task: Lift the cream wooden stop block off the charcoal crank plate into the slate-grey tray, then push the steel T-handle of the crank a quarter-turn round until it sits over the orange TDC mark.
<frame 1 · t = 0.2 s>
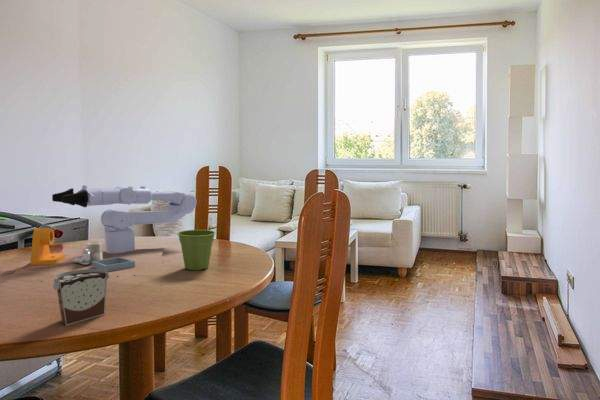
hand: (57, 198, 169), 21 cm above the table, tool horizontal, fingers open, 7 cm apart
plant pot: (197, 268, 164), on the table
food container: (77, 318, 116), on the table
bracket: (49, 265, 169), on the table
crank: (81, 255, 164), point 4 cm above the table, hinge at 90.0°
crank plate: (91, 266, 166), on the table
tray: (113, 270, 160), on the table
stop block: (94, 261, 167), point 1 cm above the table, touching crank plate
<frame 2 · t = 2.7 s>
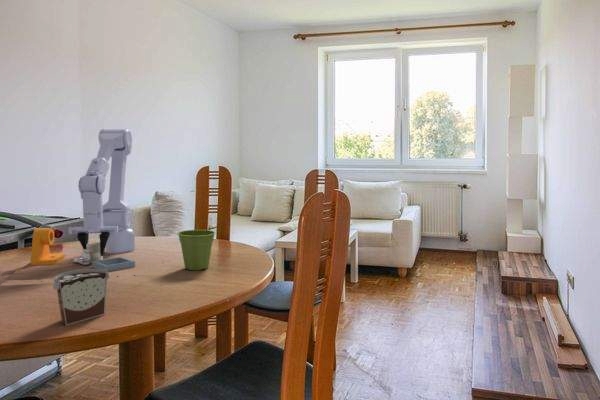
hand: (94, 255, 167), 3 cm above the table, tool pointing down, fingers closed on stop block, 4 cm apart
stop block: (94, 261, 167), point 1 cm above the table, touching crank plate, gripper
everything else where it was.
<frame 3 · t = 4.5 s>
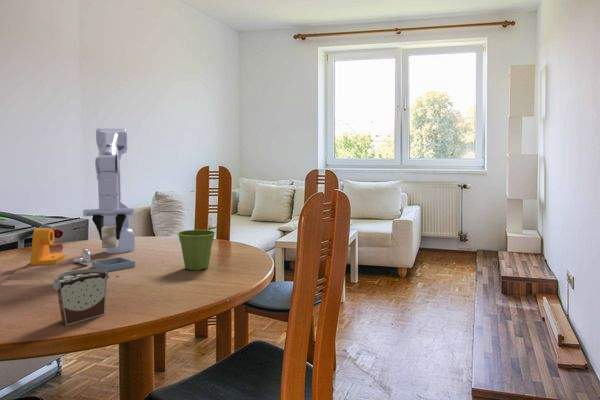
hand: (110, 239, 160), 10 cm above the table, tool pointing down, fingers closed on stop block, 4 cm apart
stop block: (110, 246, 160), point 7 cm above the table, touching gripper
everything else where it was.
when the fingers open (4 cm above the table, at t = 6.0 s): stop block drops 1 cm, resting on tray.
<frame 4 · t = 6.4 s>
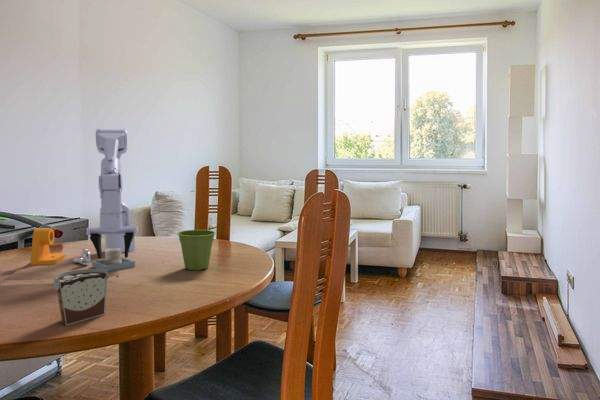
hand: (113, 257, 160), 4 cm above the table, tool pointing down, fingers open, 7 cm apart
stop block: (113, 269, 160), point 1 cm above the table, touching tray
everything else where it was.
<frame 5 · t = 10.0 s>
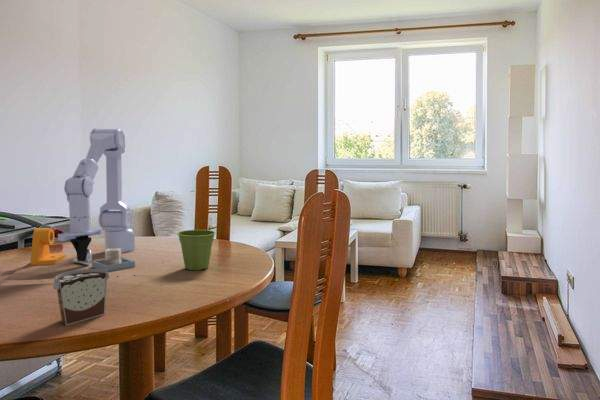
hand: (81, 260, 161), 3 cm above the table, tool pointing down, fingers closed, pressing on crank
crank: (82, 255, 164), point 4 cm above the table, hinge at 94.7°, touching gripper
everything else where it was.
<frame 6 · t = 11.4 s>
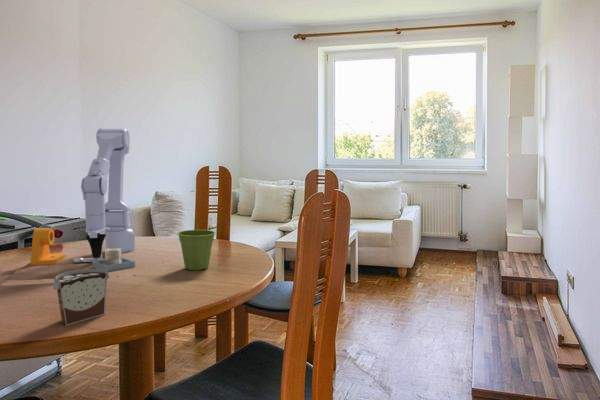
hand: (96, 257, 165), 3 cm above the table, tool pointing down, fingers closed, pressing on crank
crank: (87, 253, 166), point 4 cm above the table, hinge at 143.9°, touching gripper
everything else where it was.
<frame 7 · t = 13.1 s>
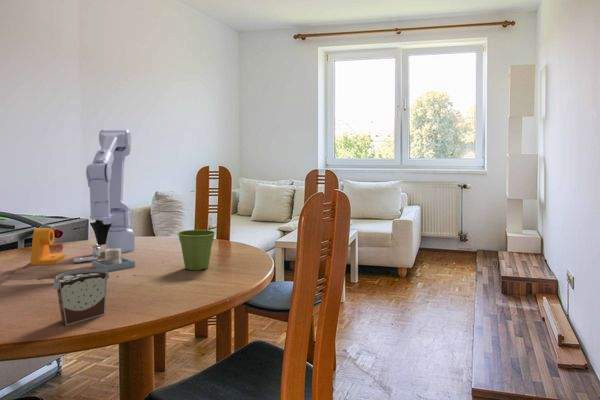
hand: (101, 244, 166), 7 cm above the table, tool pointing down, fingers closed
crank: (86, 253, 168), point 4 cm above the table, hinge at 179.2°
everything else where it was.
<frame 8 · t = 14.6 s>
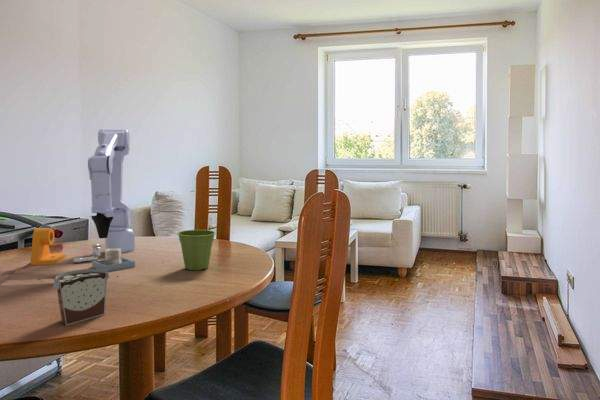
hand: (103, 237, 164), 9 cm above the table, tool pointing down, fingers closed
nothing on the table moved.
at the end: stop block 0.1 cm off-centre on the tray, point 0.6 cm above the tray's base; stop block tilted 0°; crank at +179° (first picture: +90°) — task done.
